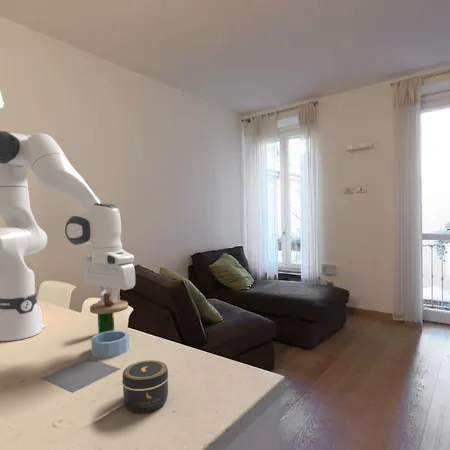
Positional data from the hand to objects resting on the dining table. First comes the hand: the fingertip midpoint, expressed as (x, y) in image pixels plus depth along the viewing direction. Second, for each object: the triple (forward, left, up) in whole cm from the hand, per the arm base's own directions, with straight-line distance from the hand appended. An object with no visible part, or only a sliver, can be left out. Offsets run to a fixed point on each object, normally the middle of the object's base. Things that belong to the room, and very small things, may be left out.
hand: (109, 301), depth 104 cm
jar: (+30, -14, -16) cm, 37 cm away
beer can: (-15, +10, -16) cm, 24 cm away
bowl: (0, 0, -16) cm, 16 cm away
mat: (+6, -14, -16) cm, 22 cm away
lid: (0, 0, -2) cm, 2 cm away
